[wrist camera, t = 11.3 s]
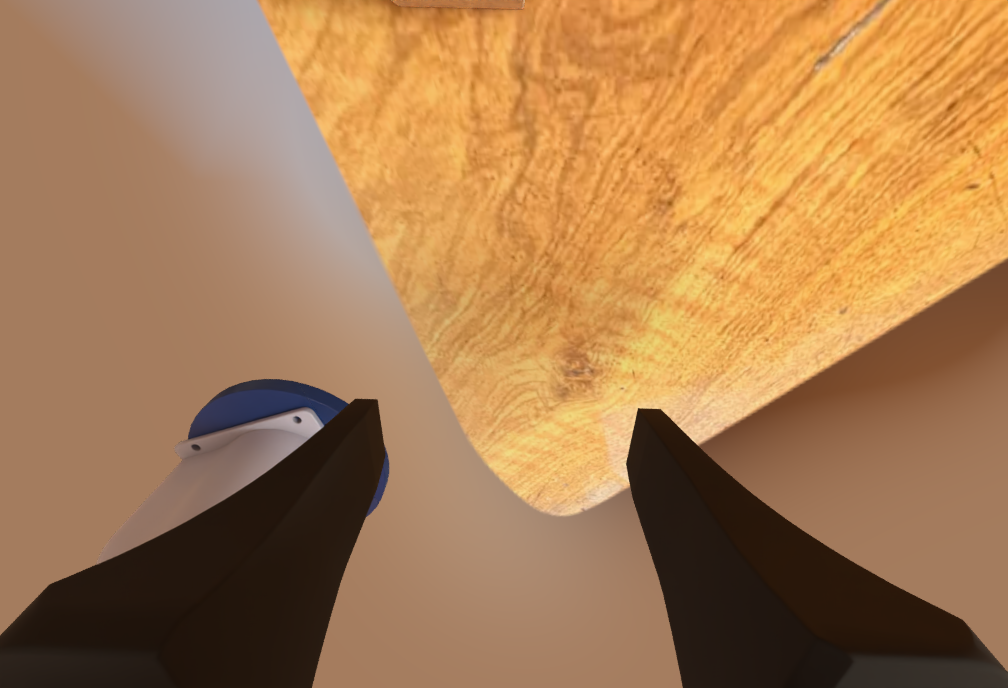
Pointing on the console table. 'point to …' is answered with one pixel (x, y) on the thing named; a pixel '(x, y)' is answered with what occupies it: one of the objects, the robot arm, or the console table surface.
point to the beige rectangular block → (463, 3)
